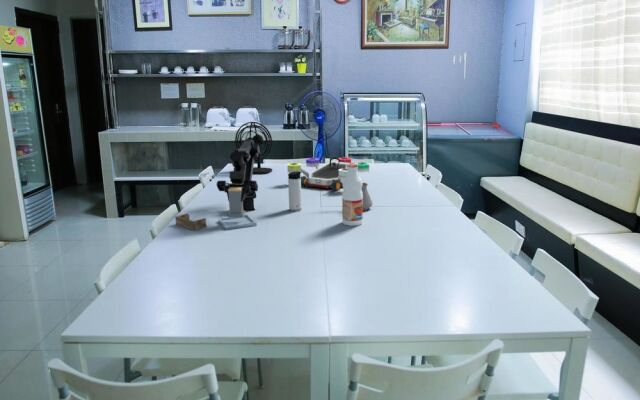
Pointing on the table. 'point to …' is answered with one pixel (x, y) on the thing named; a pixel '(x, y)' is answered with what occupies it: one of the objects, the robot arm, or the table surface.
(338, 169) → the cart
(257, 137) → the desk fan
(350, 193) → the fruit juice
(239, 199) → the grey upright block piece
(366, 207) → the coffee pot
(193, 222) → the walnut bay
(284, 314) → the table surface
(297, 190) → the travel mug
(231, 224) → the slate tray
